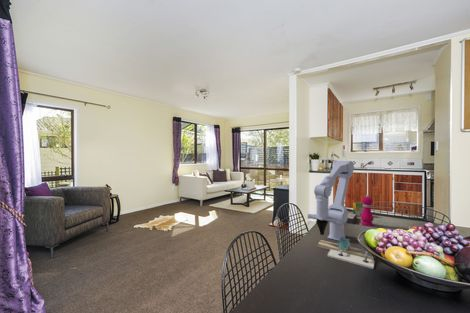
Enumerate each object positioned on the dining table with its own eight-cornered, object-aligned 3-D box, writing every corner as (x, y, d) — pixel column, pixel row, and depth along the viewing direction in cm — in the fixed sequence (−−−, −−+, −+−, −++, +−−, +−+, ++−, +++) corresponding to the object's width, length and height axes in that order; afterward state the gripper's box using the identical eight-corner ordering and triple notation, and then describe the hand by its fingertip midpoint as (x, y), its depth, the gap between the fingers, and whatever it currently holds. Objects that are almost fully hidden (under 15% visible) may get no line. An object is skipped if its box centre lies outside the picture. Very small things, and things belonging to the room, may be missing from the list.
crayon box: (361, 214, 165) (361, 199, 164) (364, 215, 162) (364, 200, 162) (352, 215, 164) (353, 200, 163) (355, 216, 161) (355, 201, 160)
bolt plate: (330, 250, 105) (330, 249, 105) (374, 262, 95) (374, 260, 95) (327, 256, 100) (327, 254, 100) (373, 269, 89) (373, 267, 89)
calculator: (356, 213, 156) (353, 218, 144) (356, 219, 156) (353, 224, 144) (340, 211, 162) (336, 215, 150) (340, 217, 162) (335, 221, 150)
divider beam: (320, 242, 115) (320, 233, 115) (374, 255, 101) (374, 244, 100) (314, 250, 106) (314, 240, 106) (372, 265, 92) (372, 254, 92)
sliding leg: (340, 245, 109) (340, 237, 108) (349, 247, 106) (349, 239, 106) (336, 253, 100) (336, 244, 100) (345, 255, 98) (346, 247, 98)
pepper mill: (358, 223, 144) (358, 194, 144) (365, 222, 147) (365, 193, 147) (368, 227, 138) (369, 196, 137) (375, 225, 141) (376, 195, 140)
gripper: (305, 207, 112) (305, 233, 112) (336, 212, 103) (335, 240, 104) (309, 205, 118) (309, 229, 118) (338, 209, 109) (338, 235, 110)
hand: (322, 234), depth 111 cm, fingers closed
